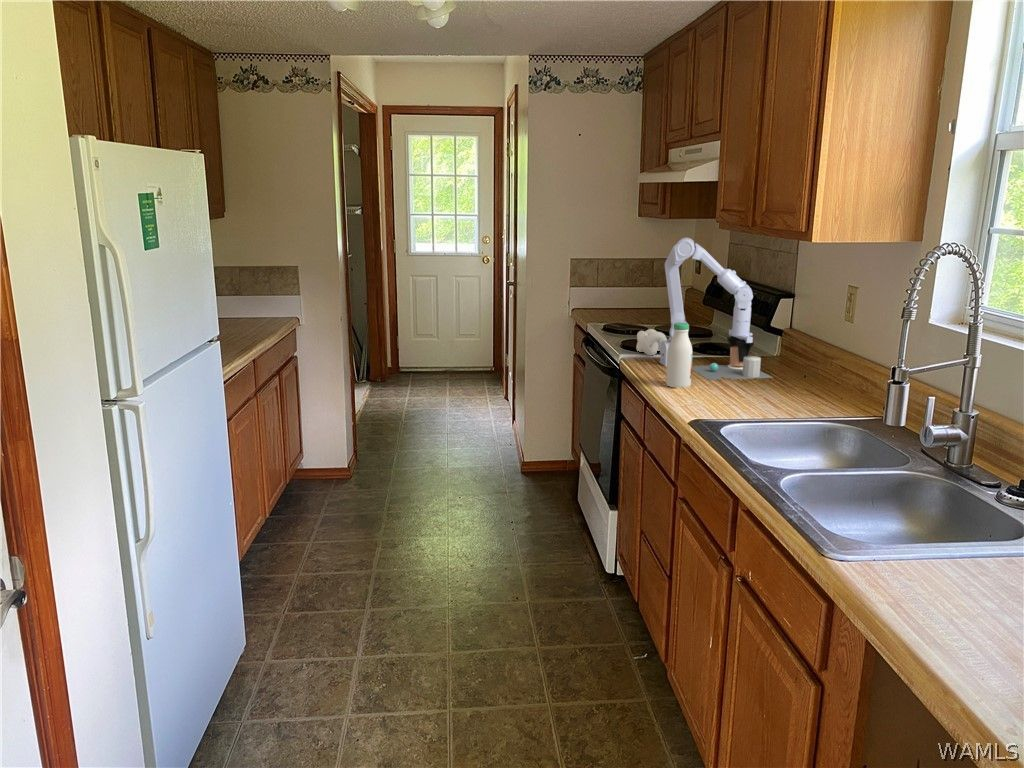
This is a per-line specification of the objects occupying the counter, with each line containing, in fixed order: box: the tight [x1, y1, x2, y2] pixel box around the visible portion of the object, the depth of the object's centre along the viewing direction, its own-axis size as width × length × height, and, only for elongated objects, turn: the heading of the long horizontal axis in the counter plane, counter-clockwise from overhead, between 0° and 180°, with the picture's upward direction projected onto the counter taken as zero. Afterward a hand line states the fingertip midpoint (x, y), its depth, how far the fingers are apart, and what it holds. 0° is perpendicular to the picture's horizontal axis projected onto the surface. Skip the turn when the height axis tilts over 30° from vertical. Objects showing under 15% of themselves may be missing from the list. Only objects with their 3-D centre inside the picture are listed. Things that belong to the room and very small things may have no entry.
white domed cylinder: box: [742, 355, 762, 377], centre depth 246 cm, size 5×5×6 cm
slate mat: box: [692, 364, 774, 381], centre depth 252 cm, size 22×20×1 cm
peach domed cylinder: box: [729, 346, 743, 366], centre depth 257 cm, size 5×5×6 cm
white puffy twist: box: [635, 328, 668, 357], centre depth 281 cm, size 11×12×9 cm
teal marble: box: [709, 362, 719, 372], centre depth 252 cm, size 3×3×3 cm
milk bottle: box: [665, 322, 693, 389], centre depth 233 cm, size 8×8×20 cm
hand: (738, 359), depth 258 cm, fingers closed on peach domed cylinder, 5 cm apart
